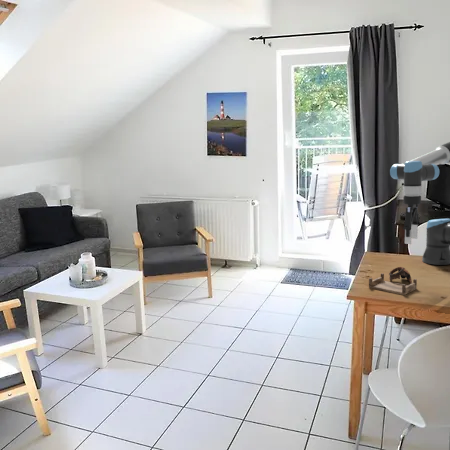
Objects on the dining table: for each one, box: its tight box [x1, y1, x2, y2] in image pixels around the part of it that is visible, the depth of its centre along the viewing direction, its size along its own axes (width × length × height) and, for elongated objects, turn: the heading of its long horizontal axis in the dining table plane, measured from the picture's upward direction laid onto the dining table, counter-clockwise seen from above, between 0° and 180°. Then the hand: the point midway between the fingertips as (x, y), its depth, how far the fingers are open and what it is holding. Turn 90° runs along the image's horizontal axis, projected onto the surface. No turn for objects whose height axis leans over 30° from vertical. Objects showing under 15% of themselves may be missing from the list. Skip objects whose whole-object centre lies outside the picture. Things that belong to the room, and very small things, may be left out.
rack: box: [368, 273, 418, 296], centre depth 222 cm, size 12×17×4 cm
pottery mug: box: [388, 266, 413, 285], centre depth 232 cm, size 12×9×8 cm
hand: (411, 241), depth 225 cm, fingers open, 13 cm apart
